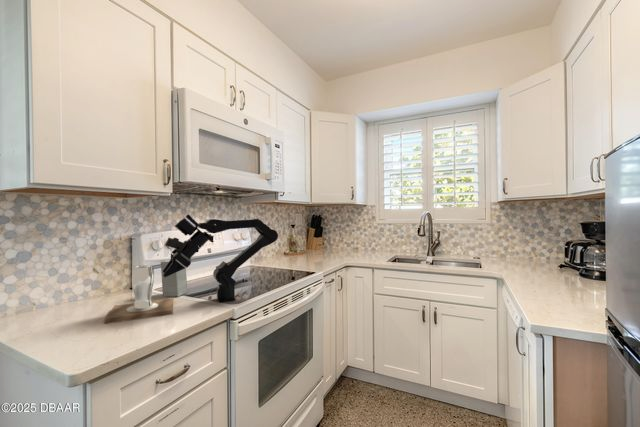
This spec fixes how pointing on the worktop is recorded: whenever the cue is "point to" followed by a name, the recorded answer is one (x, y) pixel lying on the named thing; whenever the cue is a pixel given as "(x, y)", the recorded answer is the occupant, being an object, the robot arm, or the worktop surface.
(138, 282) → the beer glass
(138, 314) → the walnut board
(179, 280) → the skincare box
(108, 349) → the worktop surface
